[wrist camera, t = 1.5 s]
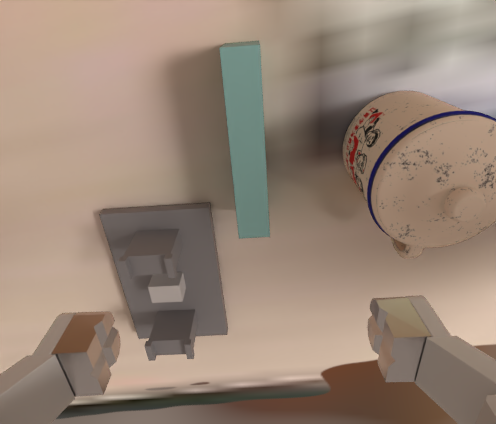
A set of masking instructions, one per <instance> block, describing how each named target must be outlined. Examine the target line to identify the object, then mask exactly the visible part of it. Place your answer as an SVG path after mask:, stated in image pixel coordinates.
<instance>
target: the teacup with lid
mask: <svg viewBox="0 0 496 424" xmlns="http://www.w3.org/2000/svg"><path fill="white" fill-rule="evenodd" d="M343 160H344V164H345V167H346V169H347V171H348V173H349V175H350V176H351V178H352V179H353V181H354V183H355V184H356V186H357V187H358V189H359V190H360V192H361V194H362V195H363V197H364V198H365V200H366V201H367V203H368V207H369V210H370V213H371V215H372V218H373V219H374V221H375V223H376V224H377V225H378V227H379V228H380V229H381V230H382V231H383V232H385V233H386V234H387V235H388V236H390V237H391V240H392V243H393V246H394V248H395V250H396V251H397V253H398V254H399V255H400V256H401V257H403V258H416V257H418V256H419V255H420V254H421V253H422V251H423V249H424V248H436V247H444V246H449V245H453V244H456V243H459V242H462V241H465V240H467V239H469V238H471V237H473V236H475V235H477V234H479V233H480V232H482V231H483V230H485V229H486V228H487V227H489V226H490V225H491V224H492V223H494V222H495V221H496V119H495V118H493V117H491V116H488V115H485V114H482V113H479V112H474V111H464V110H462V109H459V108H457V107H454V106H452V105H450V104H447V103H445V102H442V101H440V100H438V99H435V98H433V97H431V96H428V95H426V94H423V93H420V92H415V91H397V92H392V93H389V94H386V95H383V96H381V97H379V98H377V99H375V100H373V101H372V102H370V103H369V104H368V105H366V106H365V107H364V108H363V109H362V110H361V111H360V112H359V113H358V114H357V115H356V116H355V118H354V119H353V121H352V122H351V124H350V126H349V127H348V130H347V132H346V135H345V138H344V142H343Z"/></svg>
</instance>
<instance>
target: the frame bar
mask: <svg viewBox="0 0 496 424" xmlns="http://www.w3.org/2000/svg"><path fill="white" fill-rule="evenodd" d="M220 58H221V68H222V78H223V88H224V97H225V107H226V117H227V127H228V136H229V146H230V156H231V166H232V176H233V185H234V195H235V205H236V215H237V224H238V234H239V238H257V237H270V229H269V210H268V191H267V171H266V152H265V133H264V113H263V94H262V74H261V55H260V43H259V41H250V42H237V43H225V44H224V45H222V46H221V47H220Z"/></svg>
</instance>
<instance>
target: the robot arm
mask: <svg viewBox="0 0 496 424" xmlns="http://www.w3.org/2000/svg"><path fill="white" fill-rule="evenodd" d="M370 310H371V312H372V314H373V315H372V316H371V317H370V318H369V319H368V337H369V341H370V344H371V347H372V349H373V351H375V352H376V353H377V354H378V355H379V357H378V365H379V367H380V370H381V372H382V375H383V377H384V379H385V382H415V384H416V385H418V386H419V387H420V388H421V389H422V390H423V391H424V392H425V393H426V394H427V395H428V396H429V397H430V398H431V399H433V400H434V401H435V402H436V403H437V404H438V405H439V406H440V407H441V408H442V409H443V410H444V411H445V412H446V413H448V414H449V415H450V416H451V417H452V418H453V419H454V420H455V421H456V422H457V423H458V424H496V360H495V359H493V358H492V357H490V356H488V355H487V354H485V353H483V352H482V351H480V350H479V349H477V348H475V347H474V346H472V345H470V344H469V343H467V342H466V341H464V340H462V339H461V338H459V337H457V336H451V335H450V333H449V332H448V330H447V329H446V327H445V326H444V324H443V323H442V322H441V320H440V319H439V317H438V316H437V314H436V313H435V311H434V310H433V308H432V307H431V305H430V304H429V302H428V301H427V299H426V298H425V297H424V296H406V297H391V298H374V299H372V301H371V304H370ZM114 321H115V320H114V317H113V315H112V313H111V312H78V313H62V314H60V315H59V316H57V318H56V319H55V321H54V322H53V324H52V326H51V327H50V329H49V330H48V332H47V333H46V335H45V336H44V338H43V339H42V341H41V342H40V344H39V345H38V347H37V349H36V350H35V352H34V353H33V355H32V356H26V357H25V358H23V359H22V360H20V361H19V362H17V363H16V364H15V365H13V366H12V367H10V368H9V369H7V370H6V371H4V372H3V373H2V374H0V424H51V423H52V422H53V421H54V420H55V419H56V418H57V417H58V416H59V415H60V414H61V413H62V411H63V410H64V409H65V408H66V407H67V406H68V405H69V404H70V403H71V402H72V401H73V400H74V399H75V397H76V396H90V395H104V392H105V390H106V387H107V384H108V382H109V379H110V377H111V372H110V369H109V368H110V367H111V366H112V365H113V364H114V363H115V362H116V361H117V358H118V355H119V351H120V336H119V332H118V330H116V329H115V328H114V327H112V326H113V323H114Z"/></svg>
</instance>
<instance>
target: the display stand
mask: <svg viewBox="0 0 496 424" xmlns="http://www.w3.org/2000/svg"><path fill="white" fill-rule="evenodd" d="M99 215H100V218H101V222H102V225H103V228H104V231H105V234H106V237H107V240H108V243H109V247H110V250H111V253H112V256H113V259H114V262H115V265H116V269H117V272H118V275H119V278H120V281H121V284H122V287H123V291H124V294H125V297H126V300H127V303H128V306H129V309H130V312H131V316H132V319H133V322H134V325H135V328H136V331H137V334H138V338H139V339H142V338H149V341H146V344H145V349H146V353H147V356H148V359H149V361H151V360H155V359H156V355H172V354H186V355H187V359H194V349H193V348H194V342H195V337H196V336H210V335H227V332H228V326H227V318H226V311H225V304H224V297H223V290H222V283H221V276H220V269H219V262H218V255H217V248H216V241H215V234H214V227H213V220H212V213H211V206H210V203H197V204H181V205H165V206H149V207H133V208H117V209H103V210H102V212H101V213H100V214H99Z"/></svg>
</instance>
